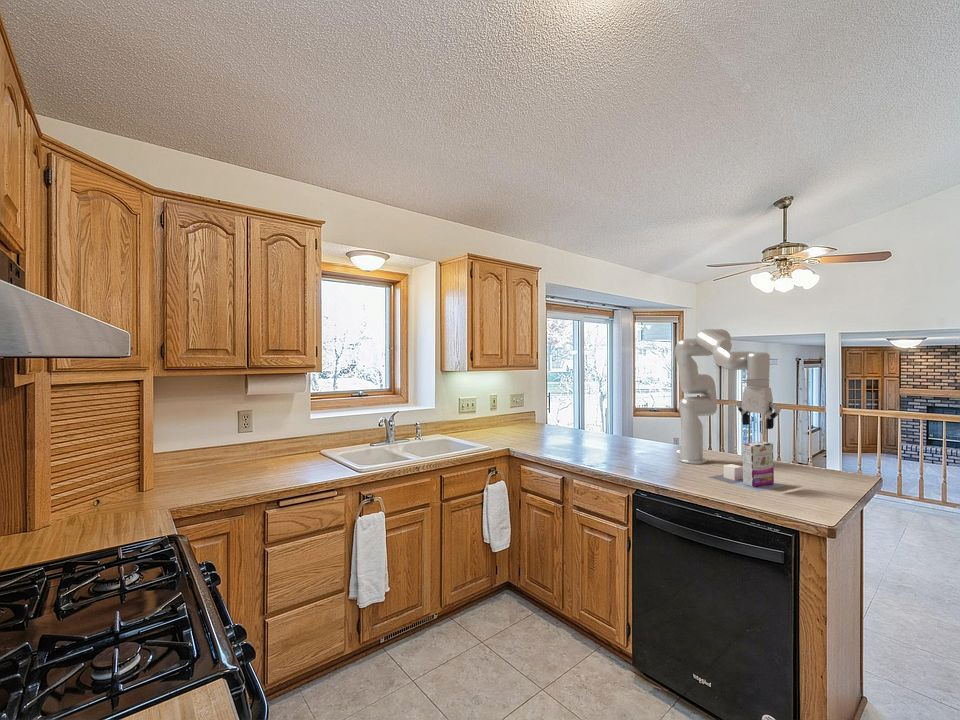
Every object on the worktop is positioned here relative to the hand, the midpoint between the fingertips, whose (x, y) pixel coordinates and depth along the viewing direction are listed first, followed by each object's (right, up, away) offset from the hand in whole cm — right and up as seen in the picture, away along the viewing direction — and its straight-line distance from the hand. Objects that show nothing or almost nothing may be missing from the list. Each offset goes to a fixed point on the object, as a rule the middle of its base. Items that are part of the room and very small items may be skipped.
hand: (757, 426), depth 179 cm
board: (-2, -24, +5) cm, 24 cm away
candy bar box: (0, -23, 0) cm, 23 cm away
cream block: (-4, -23, +10) cm, 25 cm away
